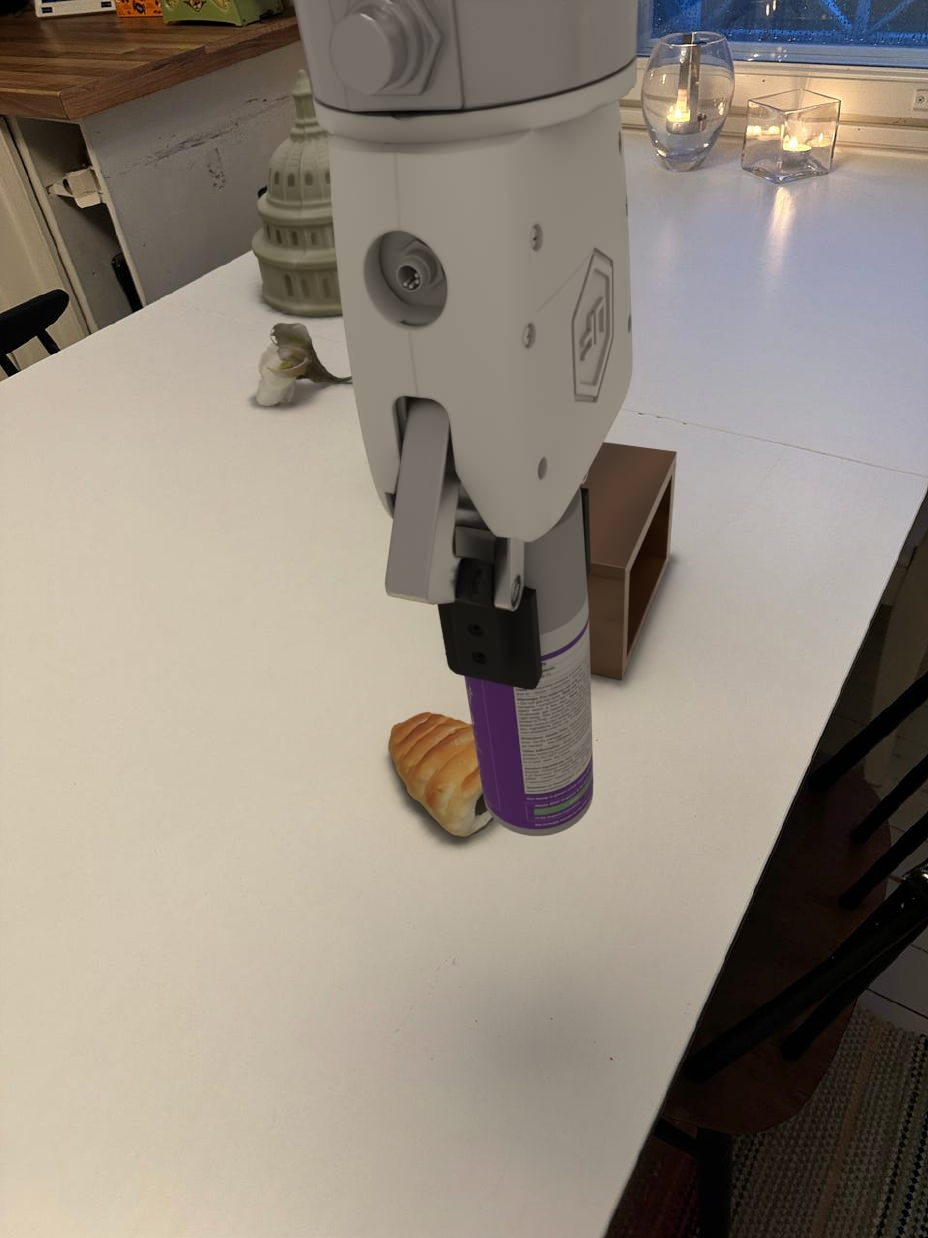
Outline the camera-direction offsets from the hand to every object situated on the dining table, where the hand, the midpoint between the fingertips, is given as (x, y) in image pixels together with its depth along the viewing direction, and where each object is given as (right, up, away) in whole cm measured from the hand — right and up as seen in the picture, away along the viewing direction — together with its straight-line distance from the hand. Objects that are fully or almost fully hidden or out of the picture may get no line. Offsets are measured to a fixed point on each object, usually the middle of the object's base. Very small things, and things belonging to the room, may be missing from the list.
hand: (522, 619), depth 33 cm
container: (+1, -7, +7) cm, 10 cm away
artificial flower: (-14, +24, +67) cm, 72 cm away
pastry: (-3, -11, +26) cm, 28 cm away
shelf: (+7, +1, +38) cm, 39 cm away
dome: (-19, +44, +90) cm, 102 cm away
